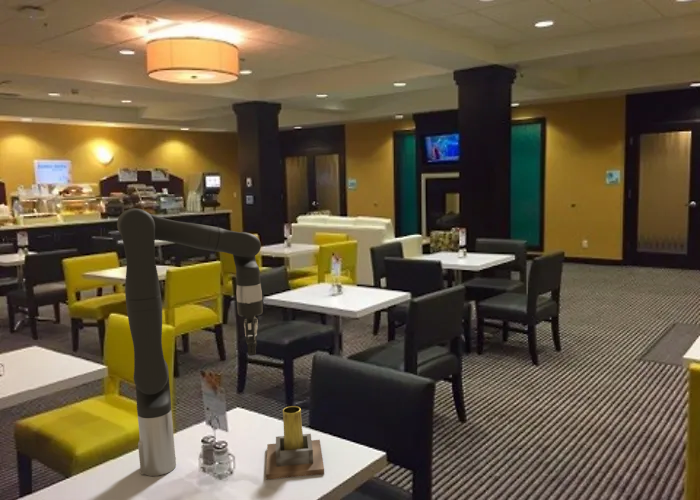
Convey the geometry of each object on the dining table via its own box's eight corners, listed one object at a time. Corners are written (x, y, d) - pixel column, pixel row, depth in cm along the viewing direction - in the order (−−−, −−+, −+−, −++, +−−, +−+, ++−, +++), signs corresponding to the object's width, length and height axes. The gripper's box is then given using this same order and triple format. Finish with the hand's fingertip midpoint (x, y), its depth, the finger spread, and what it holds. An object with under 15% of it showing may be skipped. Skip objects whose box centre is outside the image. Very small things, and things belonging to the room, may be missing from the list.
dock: (266, 479, 162) (265, 460, 161) (267, 448, 179) (266, 431, 179) (324, 474, 163) (323, 455, 163) (319, 444, 181) (319, 427, 180)
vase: (295, 463, 167) (292, 415, 165) (279, 457, 171) (276, 411, 169) (309, 454, 172) (306, 408, 170) (293, 449, 175) (290, 403, 173)
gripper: (238, 294, 183) (241, 344, 185) (235, 304, 169) (238, 359, 171) (262, 293, 184) (265, 343, 186) (261, 303, 170) (264, 357, 172)
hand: (252, 350), depth 179 cm, fingers open, 8 cm apart
